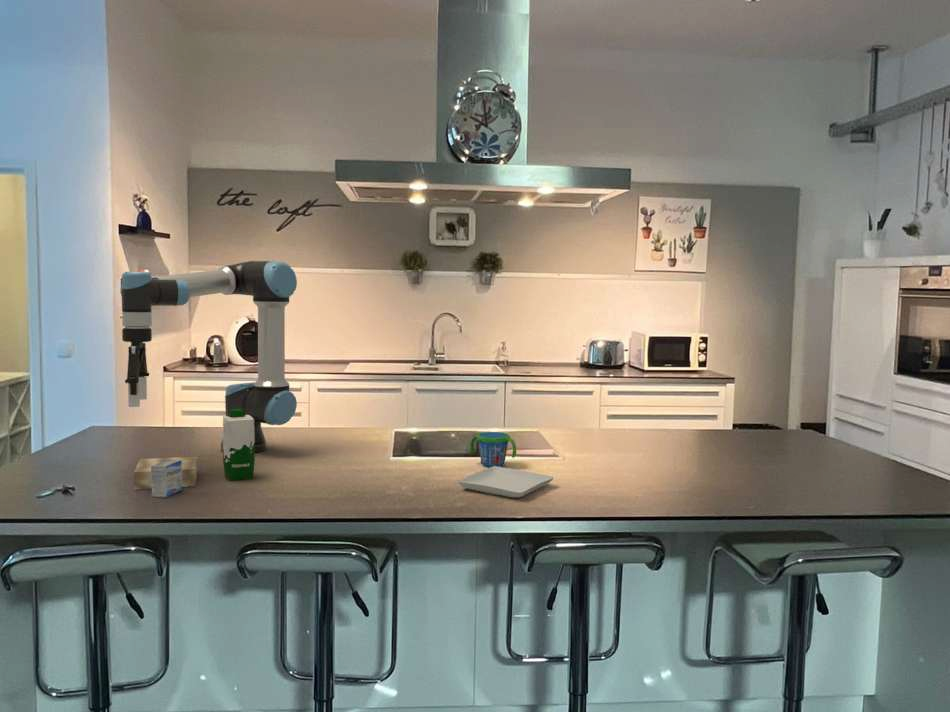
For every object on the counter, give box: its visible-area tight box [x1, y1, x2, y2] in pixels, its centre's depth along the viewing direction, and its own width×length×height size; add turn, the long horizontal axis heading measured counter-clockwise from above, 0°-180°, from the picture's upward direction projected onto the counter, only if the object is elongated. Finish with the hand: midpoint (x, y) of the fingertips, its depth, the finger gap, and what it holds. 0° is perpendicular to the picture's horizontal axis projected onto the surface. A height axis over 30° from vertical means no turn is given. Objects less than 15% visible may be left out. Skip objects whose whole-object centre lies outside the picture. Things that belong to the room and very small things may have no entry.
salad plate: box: [457, 466, 554, 499], centre depth 226 cm, size 21×21×3 cm
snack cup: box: [469, 431, 517, 468], centre depth 253 cm, size 16×10×10 cm
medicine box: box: [151, 460, 183, 498], centre depth 213 cm, size 8×4×9 cm, turn 168°
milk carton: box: [222, 409, 256, 481], centre depth 232 cm, size 9×9×20 cm
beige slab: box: [133, 456, 198, 491], centre depth 226 cm, size 16×16×5 cm
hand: (137, 403), depth 219 cm, fingers open, 13 cm apart
